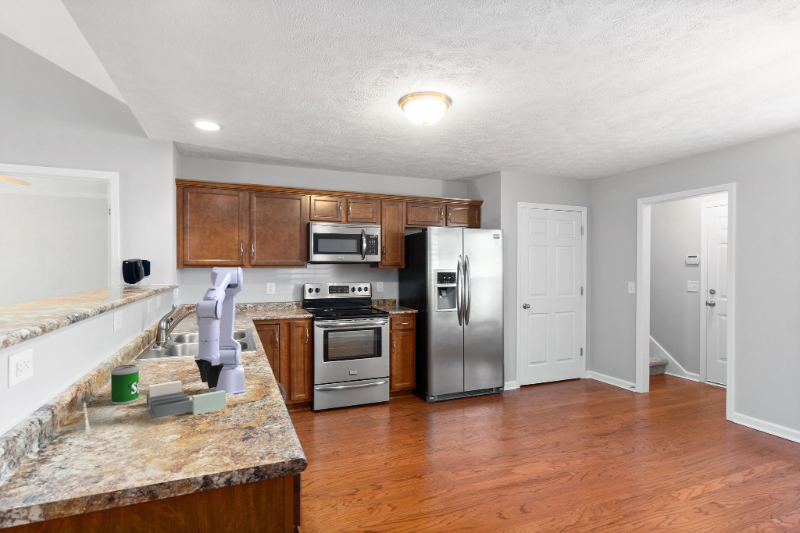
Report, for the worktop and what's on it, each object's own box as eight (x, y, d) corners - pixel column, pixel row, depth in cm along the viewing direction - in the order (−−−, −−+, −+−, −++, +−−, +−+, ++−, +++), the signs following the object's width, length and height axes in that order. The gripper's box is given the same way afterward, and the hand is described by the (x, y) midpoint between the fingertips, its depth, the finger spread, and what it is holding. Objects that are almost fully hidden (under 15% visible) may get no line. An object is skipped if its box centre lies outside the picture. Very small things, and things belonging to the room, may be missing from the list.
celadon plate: (223, 409, 132) (223, 390, 132) (225, 411, 130) (225, 391, 130) (192, 415, 126) (192, 395, 126) (193, 417, 125) (193, 397, 125)
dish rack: (182, 399, 141) (182, 388, 141) (194, 412, 128) (194, 400, 128) (144, 406, 134) (144, 394, 134) (152, 421, 122) (152, 408, 122)
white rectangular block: (180, 398, 139) (180, 380, 139) (181, 400, 138) (181, 381, 138) (148, 404, 134) (148, 385, 134) (149, 406, 132) (149, 386, 132)
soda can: (125, 408, 132) (125, 370, 132) (105, 406, 134) (105, 369, 134) (144, 400, 140) (144, 364, 140) (125, 399, 141) (125, 363, 141)
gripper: (189, 338, 131) (189, 381, 131) (200, 345, 120) (200, 392, 120) (213, 335, 136) (213, 378, 136) (226, 342, 124) (226, 388, 124)
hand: (209, 384), depth 128 cm, fingers open, 7 cm apart
